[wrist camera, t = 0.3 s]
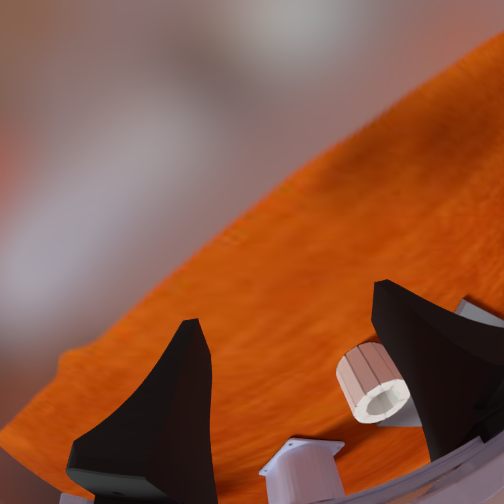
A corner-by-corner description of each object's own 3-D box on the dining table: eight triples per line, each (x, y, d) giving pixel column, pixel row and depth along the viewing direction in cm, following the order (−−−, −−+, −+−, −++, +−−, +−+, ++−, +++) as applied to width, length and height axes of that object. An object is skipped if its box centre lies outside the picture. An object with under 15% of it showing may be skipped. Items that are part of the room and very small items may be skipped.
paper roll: (367, 387, 27) (386, 424, 22) (326, 380, 26) (342, 421, 21) (396, 348, 26) (421, 382, 20) (355, 337, 25) (379, 376, 20)
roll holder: (438, 421, 32) (447, 436, 29) (375, 421, 29) (384, 440, 26) (509, 323, 27) (523, 334, 24) (462, 298, 25) (481, 313, 22)
